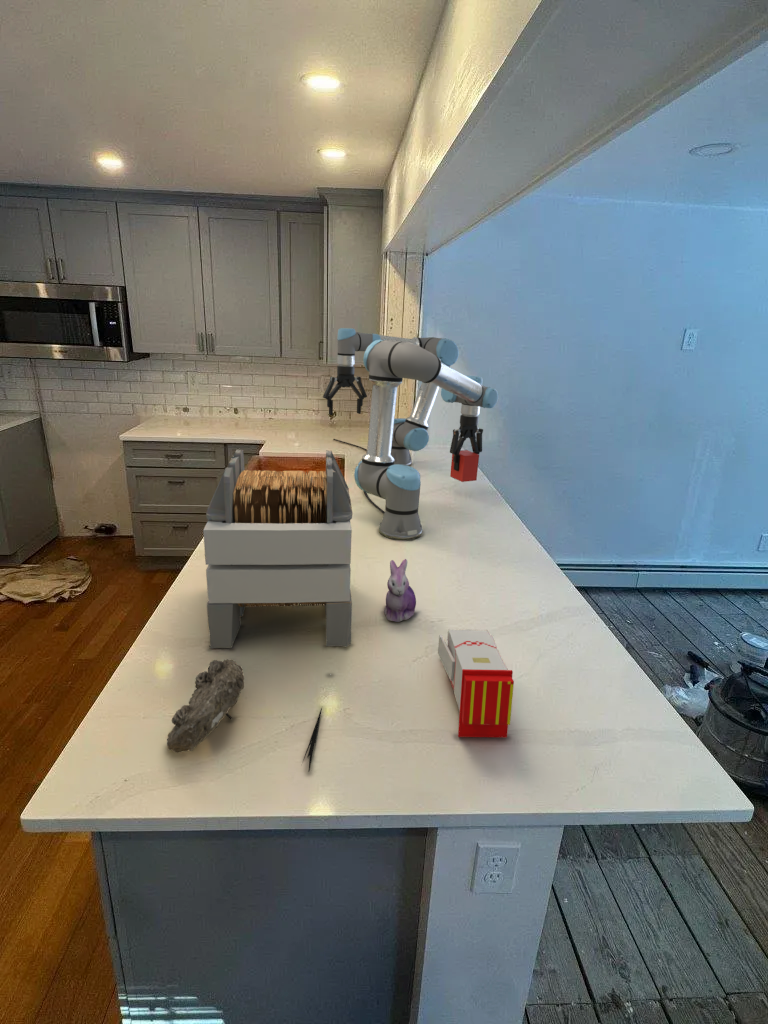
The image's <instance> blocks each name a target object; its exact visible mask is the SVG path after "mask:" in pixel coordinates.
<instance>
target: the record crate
mask: <svg viewBox="0 0 768 1024" xmlns="http://www.w3.org/2000/svg"><path fill="white" fill-rule="evenodd" d="M307 471H308V470H307ZM307 471H305V470H282V471H276V470H264V469H263V470H262V469H261V470H256V469H255V470H254V469H253V470H249V469H245V454H244V449H238V448H237V449H235V451H234V454H233V456H231V458H230V460H229V462H228V465H227V467H225V468H224V471H223V473H222V475H221V477H220V480H219V481H218V484H217V487H216V489H215V491H214V493H213V496H212V498H211V500H210V502H209V504H208V506H207V509H206V512H205V516H206V520H207V521H206V524H205V526H204V527H203V530H202V531H203V545H204V559H205V561H204V562H205V565H206V566H207V567H206V570H205V574H206V575H205V576H206V588H207V589H206V590H207V603H206V611H207V612H206V614H207V626H208V634H209V645H208V647H209V648H210V649H212V650H216V649H232V648H233V645H234V643H235V640H236V638H237V635H238V633H239V631H240V628H241V625H242V623H241V617H244V614H245V613H244V612H245V610H246V607H248V608H249V607H252V608H253V607H254V608H255V607H258V608H259V607H260V608H261V607H300V606H301V607H307V606H309V607H310V606H312V607H315V606H316V607H317V606H319V607H320V606H324V607H325V608H324V609H325V647H345V648H347V647H349V646H350V645H352V620H353V617H352V616H353V614H352V613H353V600H352V592H351V571H352V570H351V564H352V563H351V562H352V561H351V560H352V533H353V530H352V529H353V528H352V523H351V520H352V519H353V508H352V507H353V506H352V501H351V495H350V488H349V486H348V484H347V481H346V480H345V478H344V475H343V473H342V470H341V469H340V467H339V463H338V462H337V460H336V457H335V456H334V453H333V451H332V450H325V470H319V471H317V470H309V471H308V472H307Z"/></svg>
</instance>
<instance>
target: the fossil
mask: <svg viewBox="0 0 768 1024" xmlns="http://www.w3.org/2000/svg"><path fill="white" fill-rule="evenodd" d="M243 670H244V669H243V667H242V665H240V664H237V662H236V661H235V660H234V659H232V658H231V659H227V658H226V659H224V660H223V661H222V660H217V659H212V660H211V661H210V663H209V665H208V666H207V671H201V672H199V673H198V674H197V675H196V676H195V680H194V684H195V685H194V687H195V689H194V690H193V693H192V694H191V697H190V698H189V700H188V704H184V705H182V706H181V707H180V709H177V710H176V711H175V713H174V715H173V716H172V718H171V723H172V724H173V727H172V730H171V731H170V732H168V734H167V738H166V741H167V742H166V745H167V749H168V750H169V751H173V752H174V753H176V754H178V753H182V752H188V751H189V752H192V751H193V750H195V748H196V747H197V746H199V744H200V743H201V742H203V741H204V740H205V739H206V738H207V737H208V736H209V735H210V734H211V733H212V732H214V730H215V729H217V727H218V726H219V724H220V722H221V721H222V720H223V719H224V718H225V716H226V717H227V719H229V720H233V717H232V715H230V714H229V710H230V709H231V708H234V706H235V704H236V703H237V702H238V699H239V697H240V695H241V693H242V691H243V690H245V689H244V688H245V675H244V671H243Z"/></svg>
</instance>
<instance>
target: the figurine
mask: <svg viewBox="0 0 768 1024" xmlns="http://www.w3.org/2000/svg"><path fill="white" fill-rule="evenodd" d="M407 567H408V559H406V558H404V559H403V560H402V561H401V563H400V565H399V566H398V565H397V563H396V562H395V561H394V560H393V559H391V560H390V561H389V570H390V576H389V578H388V579H387V589H388V591H387V592H386V594H385V595H386V596H385V607H384V615H385V616H386V620H387V621H391V622H395V623H400V622H402V621H406V620H409V619H410V618H411V617H413V616H414V615H415V610H416V606H417V597H416V593H415V591H414V590H413V587H411V586H410V582H409V579H408V577H407V574H406V571H407Z"/></svg>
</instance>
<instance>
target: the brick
mask: <svg viewBox="0 0 768 1024" xmlns="http://www.w3.org/2000/svg"><path fill="white" fill-rule="evenodd" d="M459 455H460V464H459V471H456V470H454V462H453V457H454V455H453V454H452V453H451V464H450V475H449V477H451V478H452V479H455V480H457V481H458V482H461V483H466V482H474V481H477V478H478V471H479V470H478V469H479V462H480V454H476V453H473V451H471V450H468V449H461V450H460V453H459Z"/></svg>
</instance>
